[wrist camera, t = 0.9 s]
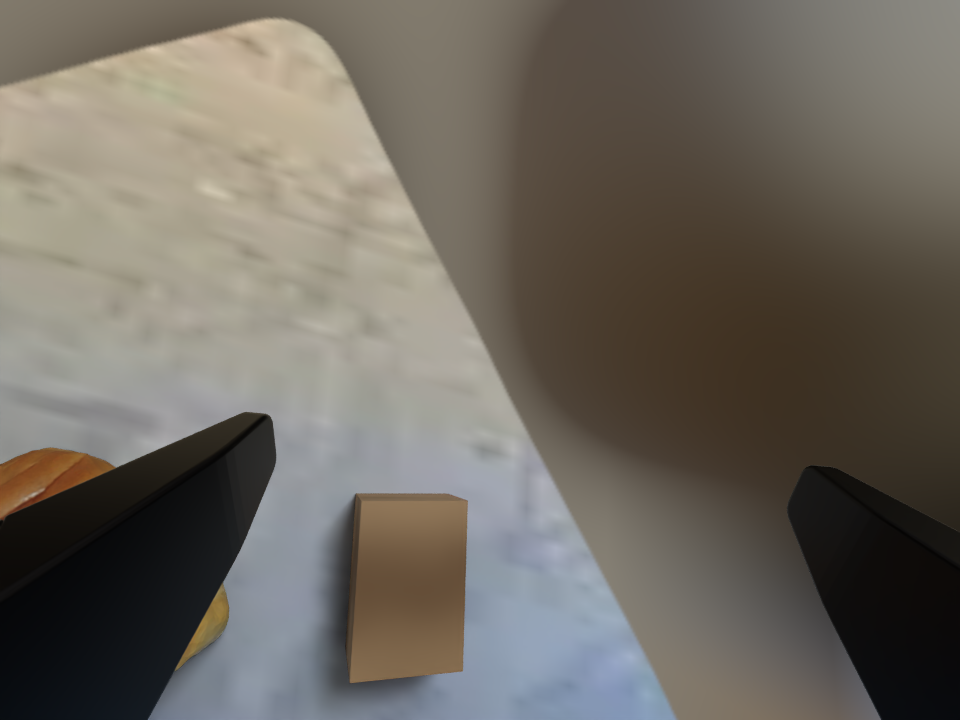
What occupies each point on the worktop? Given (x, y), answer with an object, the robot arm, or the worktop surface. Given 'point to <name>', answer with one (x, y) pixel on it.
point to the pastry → (63, 469)
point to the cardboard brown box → (406, 586)
